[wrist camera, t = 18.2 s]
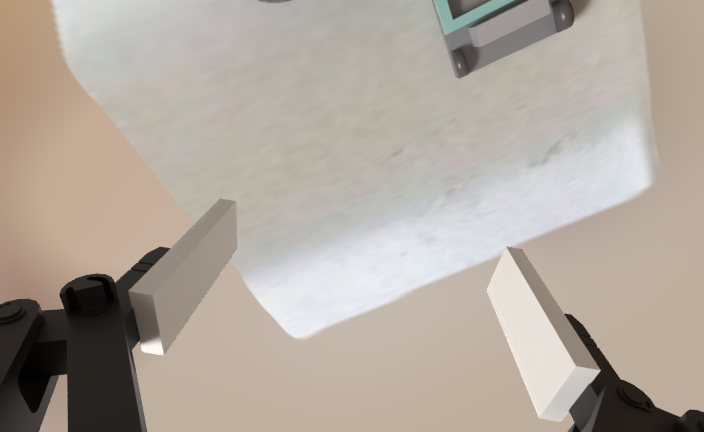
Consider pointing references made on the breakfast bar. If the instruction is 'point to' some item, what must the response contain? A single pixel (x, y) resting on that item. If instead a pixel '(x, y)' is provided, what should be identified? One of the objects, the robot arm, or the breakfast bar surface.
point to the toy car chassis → (496, 28)
